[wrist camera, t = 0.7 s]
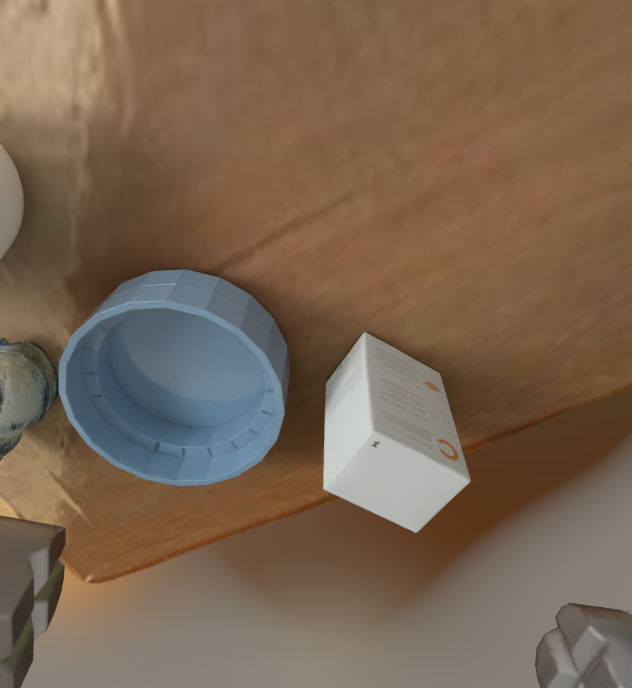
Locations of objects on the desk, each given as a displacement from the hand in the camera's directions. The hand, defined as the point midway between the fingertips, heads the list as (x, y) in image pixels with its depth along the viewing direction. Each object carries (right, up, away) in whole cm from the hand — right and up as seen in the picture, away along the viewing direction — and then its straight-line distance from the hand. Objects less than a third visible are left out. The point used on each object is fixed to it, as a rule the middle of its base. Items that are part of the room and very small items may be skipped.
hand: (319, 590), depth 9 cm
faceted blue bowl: (-11, +3, +39) cm, 41 cm away
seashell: (-28, 0, +42) cm, 50 cm away
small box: (+6, +1, +40) cm, 40 cm away
